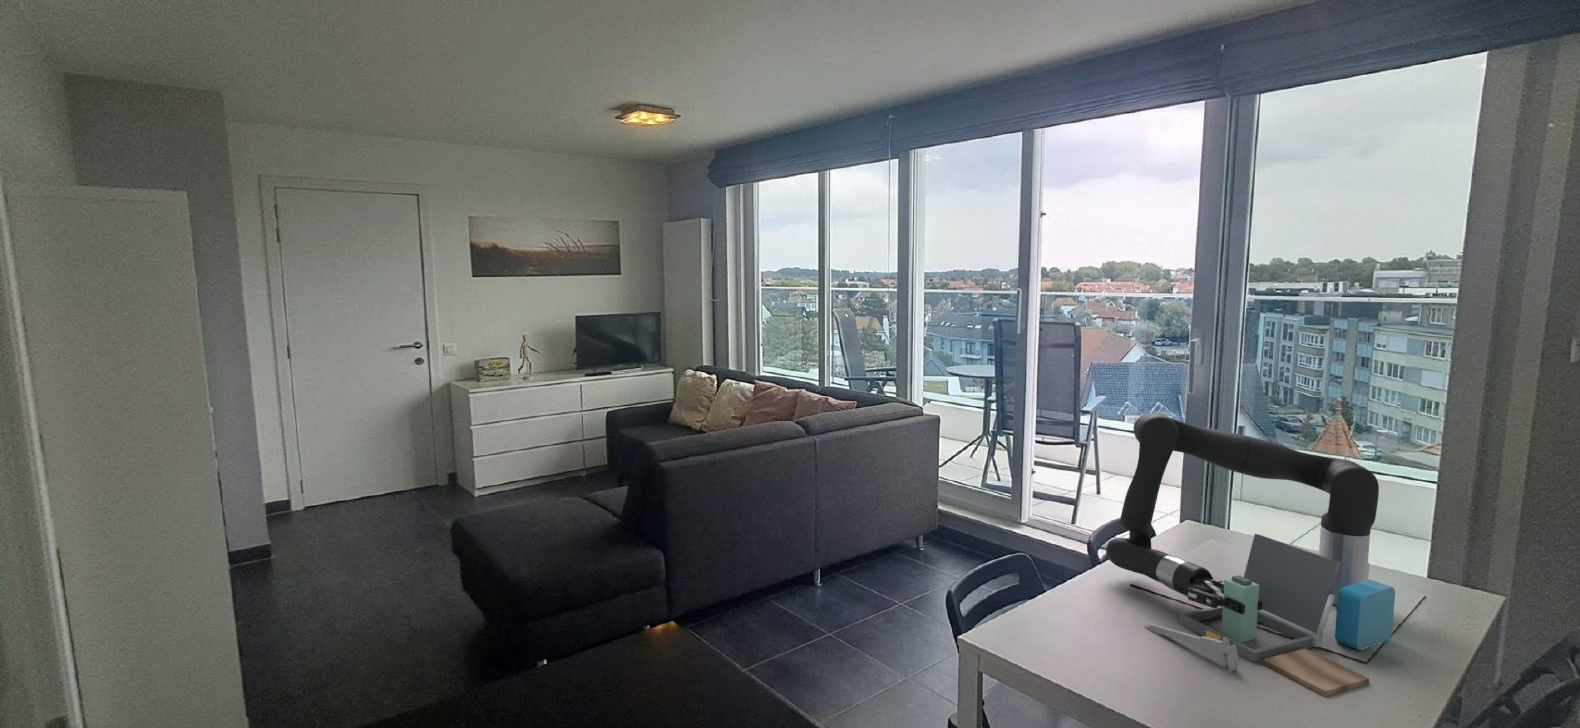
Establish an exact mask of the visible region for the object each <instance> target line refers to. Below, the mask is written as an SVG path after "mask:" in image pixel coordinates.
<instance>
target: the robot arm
mask: <svg viewBox="0 0 1580 728" xmlns="http://www.w3.org/2000/svg"><path fill="white" fill-rule="evenodd" d="M1133 433H1134V437H1135V439H1136V440H1137V442H1138V443H1139V449H1138V460H1137V465H1136V469H1135V472H1134V475H1133V476H1132V479H1131V482H1130V484H1129V487H1128V488H1127V491H1126V494H1125V497H1124V501H1123V506H1122V510H1121V515H1120V518H1119V519H1120V521H1119V522H1120V525H1121V526H1122V528H1124V529H1125V530H1128V531H1129V532H1128V533H1129V537H1115V538H1112V539H1111V540H1110V541H1109V542H1108V543H1107V544H1106V546H1105V552H1106V557H1107V558H1108V560H1109V561H1110V562H1111V563H1112V564H1113V565H1114V566H1116V567H1117V568H1119V569H1124V570H1126V571H1130V572H1133V573H1136V574H1139V575H1143V576H1146V577H1148V578H1150V579H1151V580H1154V581H1156V582H1157V583H1160V584H1162V585H1164V586H1165V587H1167V588H1169V589H1170V590H1173V591H1175V592H1176V593H1179V594H1181V595H1183V596H1185V597H1187V599H1188V600H1189V601H1191V602H1194V603H1198V604H1199V605H1200V604H1201V605H1203V606H1207V607H1208V608H1210V607H1212V608H1217V606H1220V607H1221V608H1228V609H1230V610H1232V611H1235V612H1237V613H1239V614H1244V613H1245V605H1244V604H1243V603H1241V602H1238V601H1236V600H1234V599H1232V598H1229V597H1228V598H1227V596H1226V595H1224V580H1221V579H1219V578H1218V579H1217V578H1214V577H1213V576H1212V574H1211V572H1210V571H1209V570H1208V569H1207V568H1205V567H1203V566H1201V565H1198V564H1195V563H1193V562H1191V561H1188V560H1185V559H1183V558H1181V557H1177V556H1173V555H1171V554H1169V553H1166V552H1164V551H1161V550H1158V549H1154V548H1152V533H1151V532H1152V531H1151V525H1152V522H1153V517H1154V513H1155V508H1156V505H1157V502H1158V501H1157V500H1158V495H1159V491H1160V488H1161V483H1162V480H1163V477H1164V474H1165V471H1166V469H1167V466H1168V463H1169V461H1170V458H1171V456H1172V454H1173V452H1177V453H1182V454H1187V455H1190V456H1192V457H1196V458H1198V459H1200V460H1203V461H1204V462H1205V461H1206V462H1207V463H1209V464H1212V465H1214V466H1217V467H1220V468H1222V469H1225V470H1229V471H1232V472H1234V473H1239V474H1243V475H1244V476H1245V475H1246V476H1250V477H1254V478H1259V479H1266V480H1284V481H1291V482H1297V483H1299V484H1302V485H1303V484H1304V485H1306V486H1309V487H1313V488H1315V489H1317V490H1320V491H1322V492H1324V493H1327V494H1329V499H1328V500H1329V501H1328V508H1327V512H1325V513H1324V514H1322V515H1321V520H1320V531H1319V532H1320V534H1319V544H1318V545H1319V547H1318V548H1319V549H1318V555H1321V556H1324V557H1326V558H1329V559H1332V560H1335V561H1338V562H1341V566H1340V570H1339V574H1338V578H1337V582H1336V585H1335V589H1334V593H1333V595H1334V600H1333V604H1332V606H1333V605H1334V606H1337V601H1338V593H1339V591H1340V589H1341V588H1342V587H1345V586H1349V585H1352V584H1355V583H1359V582H1362V581H1365V580H1369V575H1370V574H1369V573H1370V563H1369V553H1370V552H1369V551H1370V538H1371V530H1372V526H1373V525H1374V523H1375V521H1376V517H1377V511H1378V501H1379V494H1380V493H1379V492H1380V487H1379V486H1380V485H1379V481H1378V479H1377V476H1376V475H1375V474H1374V473H1373V472H1372V471H1370V470H1369V469H1368V468H1366V467H1365V466H1362V465H1360V464H1359V463H1357V462H1354V461H1351V460H1349V459H1343V458H1336V457H1329V456H1324V455H1323V456H1322V455H1316V454H1311V453H1307V452H1302V451H1298V450H1296V449H1293V448H1291V447H1287V446H1284V445H1283V444H1282V445H1281V444H1277V443H1275V442H1272V441H1269V440H1264V439H1260V438H1257V437H1253V436H1250V435H1245V434H1239V433H1236V432H1230V431H1225V430H1220V429H1213V428H1207V427H1202V426H1196V425H1192V424H1189V423H1187V422H1184V421H1181V420H1178V419H1175V418H1172V417H1170V416H1168V415H1164V414H1163V413H1159V412H1149V413H1145V414H1143V415H1141V416H1139V417H1138V418H1137V419H1136V421H1135V422H1134V424H1133ZM1262 606H1263V602H1262V600H1260V599H1258V610H1262Z"/></svg>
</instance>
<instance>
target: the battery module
mask: <svg viewBox="0 0 1580 728" xmlns="http://www.w3.org/2000/svg"><path fill="white" fill-rule="evenodd" d="M1223 582H1224V595H1226V596H1227V598H1228V597H1229V598H1232V599H1234V600H1236V601H1238V602H1241V603H1243V604H1244V605H1245V613H1244V614H1239V613H1237V612H1235V611H1232V610H1230V609H1228V608H1223V611H1222V616H1221V630H1220V631H1221V632H1220V633H1221V634H1223V635H1225V636H1227V637H1229V638H1231V639H1233V640H1235V641H1237V642H1239V643H1241V644H1242V643H1244V642H1248V641H1252V640H1256V639H1257V628H1258V626H1257V625H1258V621H1257V614H1258V598H1259V584H1256V583H1254V582H1252V580H1249V579H1247V578H1244V576H1241V575H1234V576H1231V578H1226V579H1224V580H1223Z"/></svg>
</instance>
